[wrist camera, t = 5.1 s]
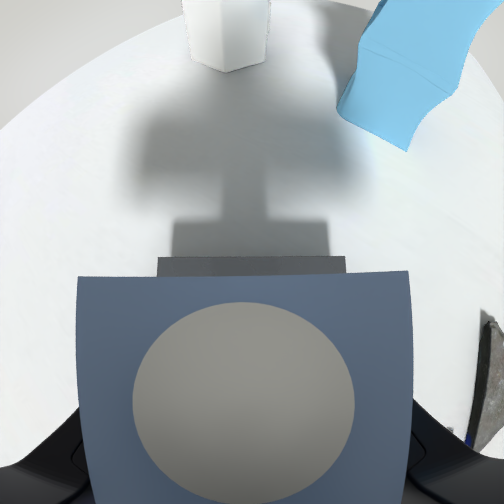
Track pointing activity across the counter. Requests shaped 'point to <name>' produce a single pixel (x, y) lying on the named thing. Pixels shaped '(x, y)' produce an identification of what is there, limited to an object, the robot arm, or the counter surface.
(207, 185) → the counter surface
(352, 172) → the counter surface
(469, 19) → the vase
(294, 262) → the plate
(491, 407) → the stone
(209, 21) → the jar
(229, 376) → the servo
